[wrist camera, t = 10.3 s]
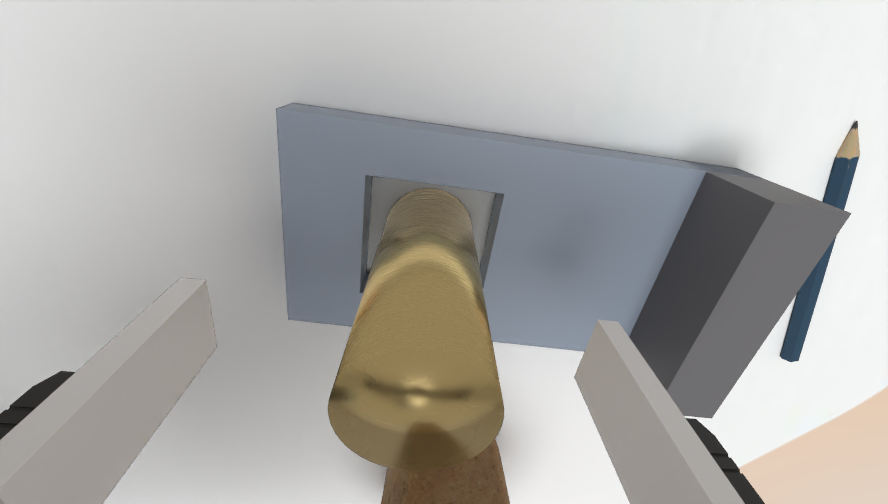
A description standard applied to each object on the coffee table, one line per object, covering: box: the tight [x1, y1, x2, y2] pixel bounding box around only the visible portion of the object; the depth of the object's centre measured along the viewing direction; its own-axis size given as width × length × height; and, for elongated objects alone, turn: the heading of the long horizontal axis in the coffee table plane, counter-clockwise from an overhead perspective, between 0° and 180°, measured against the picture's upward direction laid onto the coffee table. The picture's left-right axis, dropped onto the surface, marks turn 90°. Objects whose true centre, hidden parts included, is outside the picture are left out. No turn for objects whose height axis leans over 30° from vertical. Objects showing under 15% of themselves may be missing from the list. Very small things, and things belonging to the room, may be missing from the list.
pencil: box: [780, 121, 860, 362], centre depth 22 cm, size 1×1×15 cm
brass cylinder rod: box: [328, 188, 504, 471], centre depth 15 cm, size 5×5×12 cm
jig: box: [276, 103, 851, 418], centre depth 18 cm, size 22×11×6 cm, turn 82°
